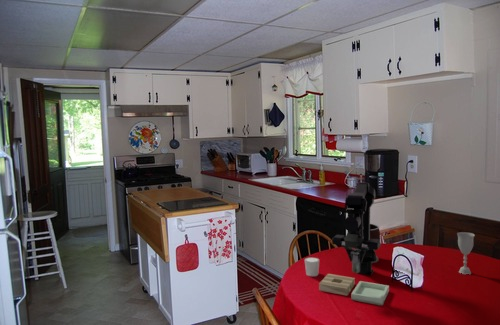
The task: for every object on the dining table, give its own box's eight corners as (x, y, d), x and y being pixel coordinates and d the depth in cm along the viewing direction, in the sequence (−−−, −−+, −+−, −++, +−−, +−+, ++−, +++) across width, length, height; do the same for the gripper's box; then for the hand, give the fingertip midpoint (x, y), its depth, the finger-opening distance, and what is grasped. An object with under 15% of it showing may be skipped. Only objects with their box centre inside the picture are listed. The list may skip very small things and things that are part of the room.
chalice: (456, 274, 180) (457, 235, 178) (455, 269, 186) (456, 231, 185) (475, 276, 177) (476, 237, 176) (472, 270, 184) (473, 232, 182)
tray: (359, 286, 171) (359, 280, 171) (388, 291, 165) (388, 285, 165) (351, 299, 159) (351, 293, 158) (382, 305, 153) (382, 299, 153)
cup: (319, 277, 183) (319, 262, 182) (304, 276, 184) (304, 261, 183) (319, 271, 189) (319, 257, 189) (305, 271, 191) (305, 256, 190)
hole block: (328, 280, 179) (327, 273, 178) (354, 284, 173) (354, 278, 173) (319, 290, 168) (319, 283, 168) (347, 295, 162) (347, 288, 162)
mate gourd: (379, 264, 195) (379, 225, 193) (350, 262, 200) (350, 223, 198) (380, 254, 209) (380, 217, 207) (354, 252, 214) (353, 216, 212)
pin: (352, 268, 167) (352, 248, 166) (362, 270, 165) (362, 249, 164) (349, 272, 164) (349, 251, 163) (359, 274, 161) (359, 252, 160)
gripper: (327, 227, 160) (327, 264, 162) (374, 232, 151) (374, 272, 152) (336, 221, 170) (336, 256, 171) (380, 225, 160) (380, 263, 162)
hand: (356, 262), depth 164 cm, fingers closed on pin, 4 cm apart
